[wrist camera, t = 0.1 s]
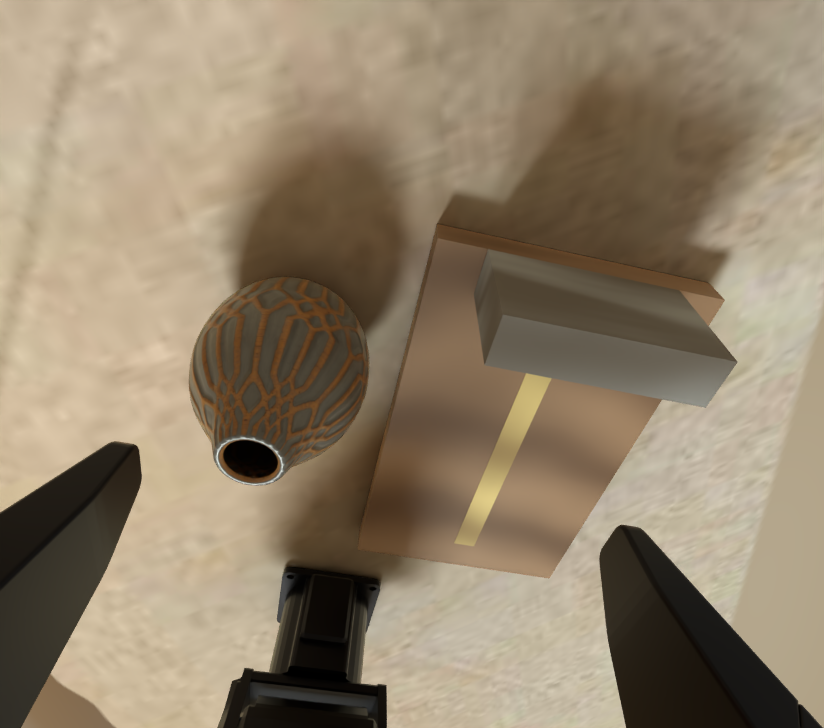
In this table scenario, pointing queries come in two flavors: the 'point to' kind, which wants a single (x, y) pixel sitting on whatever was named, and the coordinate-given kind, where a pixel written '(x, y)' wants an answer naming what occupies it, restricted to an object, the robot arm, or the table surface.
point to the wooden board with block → (528, 397)
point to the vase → (277, 377)
